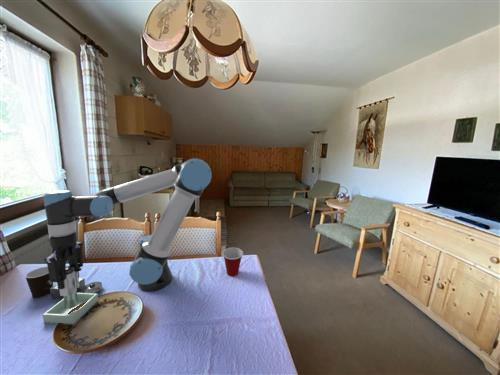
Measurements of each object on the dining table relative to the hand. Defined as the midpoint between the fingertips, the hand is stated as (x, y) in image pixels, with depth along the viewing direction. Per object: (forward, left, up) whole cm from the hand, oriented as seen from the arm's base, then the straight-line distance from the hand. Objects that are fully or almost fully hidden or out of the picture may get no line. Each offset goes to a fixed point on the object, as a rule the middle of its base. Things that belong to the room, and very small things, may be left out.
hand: (70, 290), depth 80 cm
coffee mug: (+21, -11, -9) cm, 26 cm away
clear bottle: (0, 0, -6) cm, 6 cm away
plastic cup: (-59, -30, -9) cm, 67 cm away
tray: (0, 0, -9) cm, 9 cm away
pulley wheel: (+1, -12, -9) cm, 15 cm away
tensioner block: (+10, -10, -9) cm, 17 cm away
